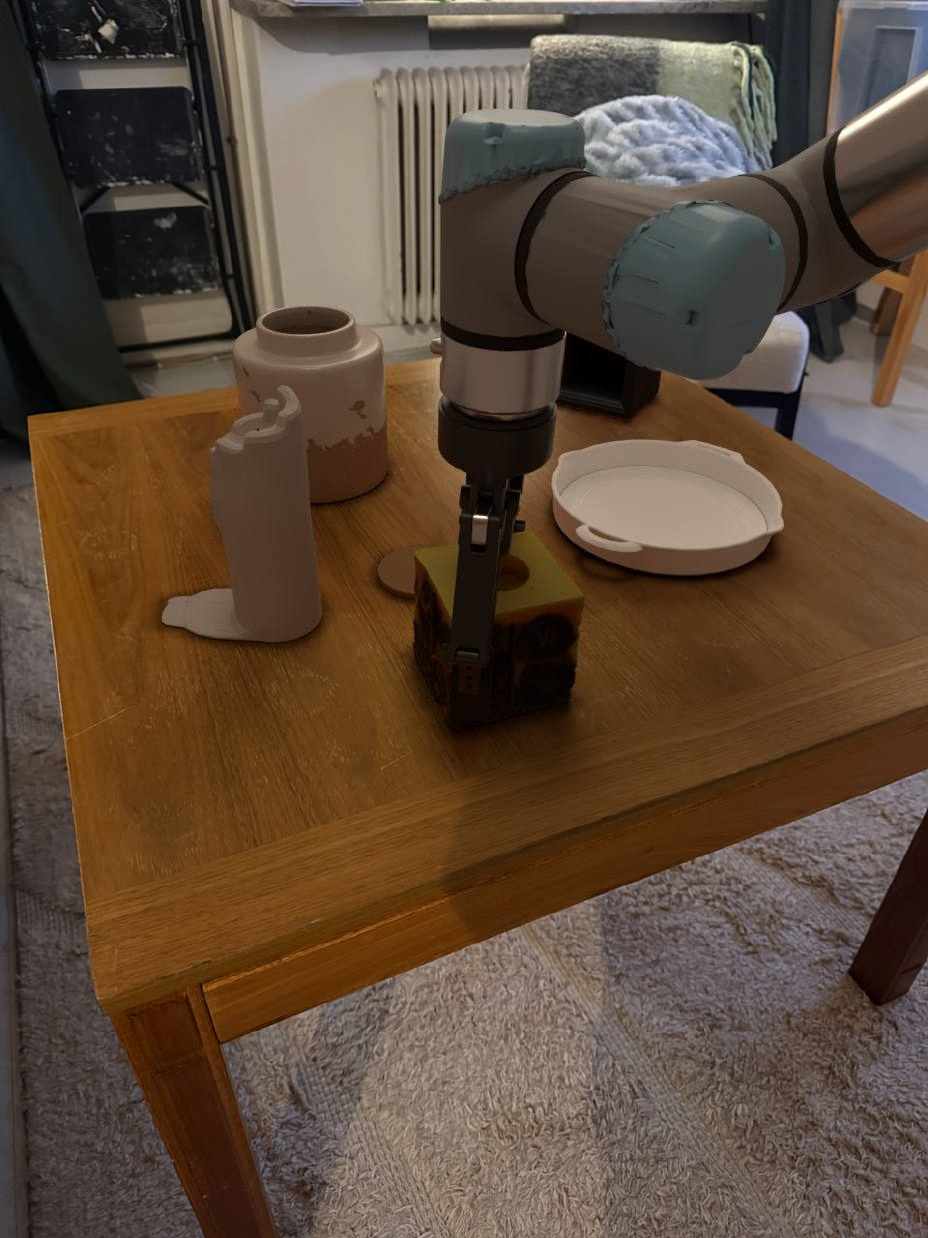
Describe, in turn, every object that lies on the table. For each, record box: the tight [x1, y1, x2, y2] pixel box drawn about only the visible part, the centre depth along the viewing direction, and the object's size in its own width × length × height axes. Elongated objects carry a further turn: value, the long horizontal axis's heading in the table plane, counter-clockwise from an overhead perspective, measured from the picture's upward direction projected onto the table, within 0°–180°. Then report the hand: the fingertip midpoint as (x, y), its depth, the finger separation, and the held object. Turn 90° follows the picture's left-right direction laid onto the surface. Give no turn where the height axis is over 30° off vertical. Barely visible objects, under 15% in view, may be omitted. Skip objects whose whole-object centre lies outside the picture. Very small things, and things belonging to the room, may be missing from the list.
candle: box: [412, 530, 586, 731], centre depth 65 cm, size 10×10×10 cm
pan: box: [550, 439, 785, 577], centre depth 87 cm, size 24×27×4 cm
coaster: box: [377, 545, 435, 600], centre depth 80 cm, size 8×8×1 cm
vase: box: [231, 304, 389, 504], centre depth 91 cm, size 15×15×17 cm
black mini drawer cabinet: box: [554, 332, 663, 421], centre depth 109 cm, size 23×11×24 cm, turn 60°
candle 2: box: [161, 385, 323, 643], centre depth 68 cm, size 7×14×20 cm, turn 86°
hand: (482, 656), depth 67 cm, fingers closed on candle, 13 cm apart
